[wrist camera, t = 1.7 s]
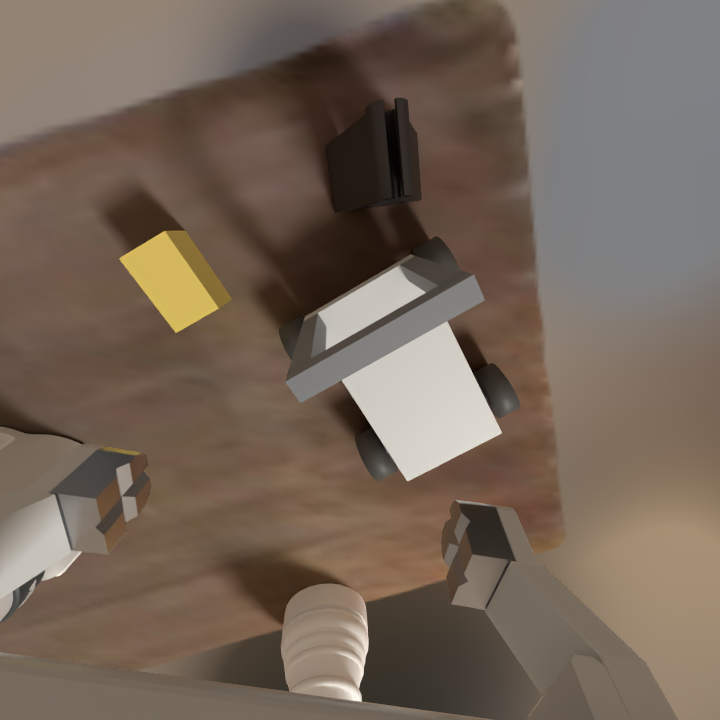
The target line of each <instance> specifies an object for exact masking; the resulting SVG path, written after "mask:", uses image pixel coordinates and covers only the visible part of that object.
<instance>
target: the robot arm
mask: <svg viewBox="0 0 720 720" xmlns="http://www.w3.org/2000/svg"><path fill="white" fill-rule="evenodd" d="M147 466H148V461H147V456H146V455H145V454H143V453H138V452H133V451H127V450H121V449H116V448H110V447H102V446H96V445H91V444H80V443H78V442H75V441H73V440H70V439H67V438H64V437H60V436H54V435H45V434H26V433H23V432H20V431H17V430H14V429H10V428H7V427H0V623H2V622H3V621H5V620H6V619H8V618H9V617H10V616H11V615H12V614H13V613H14V612H15V611H16V610H17V608H19V607H20V606H21V605H22V604H23V603H24V602H25V601H26V600H27V599H28V597H29V596H30V595H31V594H32V592H33V590H34V589H35V587H36V586H37V585H38V584H39V583H40V581H44V580H48V579H50V578H53V577H54V576H60V575H61V574H62V573H63V572H65V571H66V569H67V568H68V567H69V566H70V565H71V564H72V563H73V561H74V560H75V559H76V558H77V557H78V556H79V555H80V553H81V552H90V553H99V554H107V555H108V554H109V553H110V552H111V551H112V549H113V548H114V547H115V545H116V544H117V543H118V541H119V540H120V539H121V537H122V536H123V535H124V533H125V532H126V531H127V529H126V522H127V521H129V520H131V519H132V518H134V517H136V516H138V515H139V513H140V512H141V510H142V509H143V508H144V506H145V504H146V502H147V499H148V497H149V494H150V488H151V483H150V478H149V477H148V475H147V474H146V473H145V472H144V470H145V468H146V467H147ZM450 514H451V519H449V520H448V521H446V522H445V525H444V528H443V531H442V541H441V544H442V555H443V560H444V562H445V563H446V564H447V565H448V566H449V568H450V569H449V571H448V574H447V577H446V578H447V583H448V588H449V594H450V599H451V604H455V605H461V606H466V607H472V608H477V609H483V610H486V611H485V612H486V614H487V615H488V616H489V618H490V620H491V621H492V622H493V624H494V625H495V627H496V628H497V630H498V631H499V633H500V634H501V636H502V637H503V638H504V640H505V642H506V643H507V644H508V646H509V648H510V649H511V650H512V652H513V653H514V655H515V656H516V658H517V659H518V661H519V662H520V664H521V665H522V667H523V668H524V669H525V671H526V672H527V674H528V675H529V677H530V678H531V680H532V681H533V683H534V684H535V686H536V687H537V689H538V690H539V692H540V693H541V694H542V696H543V697H542V698H541V699H540V701H539V702H538V704H537V705H536V706H535V708H534V709H533V710H532V712H531V713H530V715H529V716H528V718H527V720H678V718H677V716H676V715H675V713H674V711H673V709H672V708H671V706H670V704H669V702H668V701H667V699H666V697H665V695H664V694H663V692H662V690H661V688H660V687H659V685H658V683H657V681H656V680H655V678H654V677H653V674H652V673H651V671H650V669H649V667H648V666H647V664H646V662H644V660H642V659H641V658H640V657H639V656H638V655H637V654H636V653H635V652H634V651H633V650H632V649H631V648H630V647H629V646H628V645H627V644H626V643H625V642H624V641H623V640H621V638H619V637H618V636H617V635H616V634H615V633H614V632H613V631H612V630H611V629H610V628H609V627H608V626H607V625H606V624H605V623H604V622H603V621H602V620H600V619H599V618H598V617H597V616H596V615H595V614H594V613H593V612H592V611H591V610H590V609H589V608H588V607H587V606H586V605H585V604H584V603H583V602H582V601H581V600H580V599H579V598H577V596H575V595H574V594H573V593H572V592H571V591H570V590H569V589H568V588H567V587H566V586H565V585H564V584H563V583H562V582H561V581H560V580H559V579H558V578H557V577H556V576H555V575H554V574H552V573H551V572H550V571H549V570H548V569H547V568H546V567H545V566H540V565H539V564H538V563H537V560H536V557H535V555H534V553H533V551H532V548H531V546H530V544H529V542H528V539H527V537H526V535H525V532H524V530H523V528H522V526H521V523H520V521H519V519H518V517H517V514H516V512H515V511H514V510H513V509H512V508H510V507H503V506H496V505H488V504H481V503H474V502H466V501H459V500H455V501H454V502H453V503H452V505H451V508H450ZM0 720H491V719H484V718H476V717H469V716H461V715H455V714H447V713H440V712H433V711H425V710H418V709H410V708H403V707H395V706H389V705H382V704H374V703H367V702H360V701H352V700H345V699H338V698H331V697H323V696H316V695H309V694H301V693H294V692H286V691H279V690H272V689H265V688H257V687H250V686H243V685H236V684H228V683H221V682H214V681H206V680H199V679H192V678H184V677H177V676H169V675H162V674H155V673H148V672H140V671H133V670H126V669H118V668H111V667H104V666H96V665H89V664H82V663H74V662H67V661H59V660H52V659H45V658H37V657H30V656H23V655H15V654H8V653H1V652H0Z"/></svg>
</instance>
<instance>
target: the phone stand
mask: <svg viewBox="0 0 720 720" xmlns="http://www.w3.org/2000/svg"><path fill="white" fill-rule="evenodd" d="M394 100H395V109H393V110H392V111H386V112H384V102H383V100H380V101H377V102H374V103H372V104H370V105H368V106H367V107H366V108H365V112H366V113H365V115H364V116H363V117H362V118H361V119H359V120H358V121H357V122H356V123H354V124H353V125H352V126H350V127H349V128H348V129H347V130H345V131H344V132H343V133H342V134H340V135H339V136H338V137H336V138H335V139H334V140H333V141H331V142H330V143H329V144H328V145H326V146H325V147H326V154H327V161H328V167H329V174H330V181H331V188H332V194H333V201H334V208H335V212H342V211H349V210H356V209H363V208H370V207H377V206H384V205H391V204H398V203H405V202H412V201H419V200H421V185H420V170H419V156H418V141H417V133H416V131H415V130H414V128H413V126H412V125H411V123H410V122H409V110H408V100H406V99H404V98H396V99H394Z"/></svg>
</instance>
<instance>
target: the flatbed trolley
mask: <svg viewBox="0 0 720 720" xmlns="http://www.w3.org/2000/svg"><path fill="white" fill-rule="evenodd" d="M484 300H485V299H484V297H483V294H482V292H481V290H480V288H479V285H478V283H477V281H476V278H475V276H474V274H471V273H467V272H464V271H461V270H460V269H459V266H458V264H457V262H456V260H455V258H454V256H453V255H452V253H451V251H450V250H449V248H448V247H447V246H446V244H445V243H444V242H443V241H442V240H441V239H440V238H439V237H434V238H432V239H430V240H429V241H427V242H425V243H424V244H422V245H420V246H419V247H417V248H415V249H414V250H413V255H409V256H407V257H405V258H404V259H402V260H400V261H399V262H397V263H395V264H394V265H392V266H390V267H388V268H387V269H385V270H383V271H382V272H380V273H378V274H377V275H375V276H373V277H371V278H370V279H368V280H366V281H365V282H363V283H361V284H360V285H358V286H356V287H354V288H353V289H351V290H349V291H348V292H346V293H344V294H343V295H341V296H339V297H337V298H336V299H334V300H332V301H331V302H329V303H327V304H326V305H324V306H322V307H320V308H319V309H317V310H315V311H314V312H312V313H310V314H309V315H307V316H305V318H304V317H302V316H300V317H298V318H296V319H295V320H293V321H291V322H290V323H288V324H286V325H285V326H283V327H281V328H280V329H279V335H280V338H281V341H282V344H283V346H284V348H285V350H286V352H287V354H288V355H289V357H290V359H291V360H292V361H291V364H290V368H289V371H288V374H287V378H286V381H285V382H286V384H287V385H288V386H289V388H290V389H291V391H292V392H293V393H294V395H295V396H296V398H297V399H298V400H299V402H300V403H302V402H303V401H305V400H307V399H309V398H311V397H312V396H314V395H316V394H318V393H320V392H321V391H323V390H325V389H327V388H329V387H330V386H332V385H334V384H336V383H337V382H339V381H341V380H342V382H343V383H344V385H345V386H346V388H347V389H348V391H349V392H350V394H351V395H352V397H353V398H354V400H355V402H356V403H357V405H358V406H359V408H360V409H361V411H362V412H363V414H364V415H365V417H366V418H367V420H368V422H369V423H370V425H371V426H372V427H371V428H369V429H367V430H366V431H364V432H362V433H360V434H358V435H356V436H355V441H356V445H357V448H358V451H359V454H360V456H361V458H362V460H363V462H364V464H365V466H366V468H367V469H368V471H369V473H370V474H371V475H372V477H373V478H374V479H375V480H377V481H379V480H381V479H383V478H385V477H387V476H389V475H391V474H393V473H395V472H397V466H398V468H399V469H400V471H401V472H402V474H403V475H404V477H405V478H406V480H407V481H409V480H411V479H413V478H415V477H417V476H419V475H421V474H423V473H425V472H427V471H429V470H431V469H433V468H435V467H437V466H439V465H441V464H443V463H445V462H446V461H448V460H450V459H452V458H454V457H456V456H458V455H460V454H462V453H464V452H466V451H468V450H470V449H472V448H474V447H476V446H478V445H480V444H482V443H484V442H486V441H488V440H490V439H492V438H493V437H495V436H497V435H499V434H501V433H502V432H501V430H500V428H499V426H498V424H497V422H496V420H495V418H494V416H493V414H492V412H493V413H494V415H495V416H496V417H497V418H501V417H503V416H505V415H507V414H509V413H511V412H513V411H515V410H517V409H519V408H520V403H519V400H518V398H517V395H516V393H515V391H514V390H513V388H512V386H511V384H510V383H509V381H508V380H507V378H506V377H505V375H504V374H503V373H502V372H501V370H500V369H499V368H498V367H497V366H496V365H495V364H493V363H491V364H489V365H487V366H485V367H483V368H481V369H479V370H478V371H476V372H474V373H472V371H471V369H470V367H469V365H468V363H467V361H466V359H465V357H464V355H463V352H462V350H461V348H460V346H459V344H458V342H457V340H456V338H455V336H454V334H453V332H452V330H451V328H450V326H449V324H448V322H447V321H449V320H450V319H452V318H454V317H456V316H458V315H459V314H461V313H463V312H465V311H466V310H468V309H470V308H472V307H474V306H475V305H477V304H479V303H481V302H483V301H484ZM490 409H491V410H490ZM491 411H492V412H491Z"/></svg>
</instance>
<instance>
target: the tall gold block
mask: <svg viewBox="0 0 720 720" xmlns="http://www.w3.org/2000/svg"><path fill="white" fill-rule="evenodd" d="M119 259H120V261H121V262H122V263H123V264H124V266H125V267H126V268H127V270H128V271H129V272H130V274H131V275H132V276H133V277H134V279H135V280H136V281H137V283H138V284H139V285H140V287H141V288H142V289H143V291H144V292H145V293H146V294H147V296H148V297H149V298H150V300H151V301H152V302H153V304H154V305H155V306H156V307H157V309H158V310H159V311H160V313H161V314H162V315H163V317H164V318H165V319H166V321H167V322H168V323H169V324H170V326H171V327H172V328H173V330H174V331H175V332H176V333H177V332H178V331H180V330H182V329H184V328H185V327H187V326H189V325H191V324H192V323H194V322H196V321H198V320H199V319H201V318H203V317H205V316H206V315H208V314H210V313H212V312H213V311H215V310H217V309H219V308H220V307H221V306H223V305H224V304H226V303H227V302H229V301H230V300H231V297H230V296H229V294H228V293H227V291H226V290H225V288H224V287H223V285H222V284H221V282H220V281H219V279H218V278H217V277H216V275H215V274H214V272H213V271H212V269H211V268H210V266H209V265H208V263H207V262H206V260H205V259H204V257H203V256H202V254H201V253H200V251H199V250H198V249H197V247H196V246H195V244H194V243H193V241H192V240H191V238H190V237H189V235H188V234H187V232H186V231H163V232H162V233H160V234H159V235H157V236H155V237H154V238H152V239H150V240H149V241H147V242H145V243H144V244H142V245H140V246H139V247H137V248H136V249H134V250H132V251H131V252H129V253H127V254H126V255H124V256H122V257H121V258H119Z"/></svg>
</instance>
